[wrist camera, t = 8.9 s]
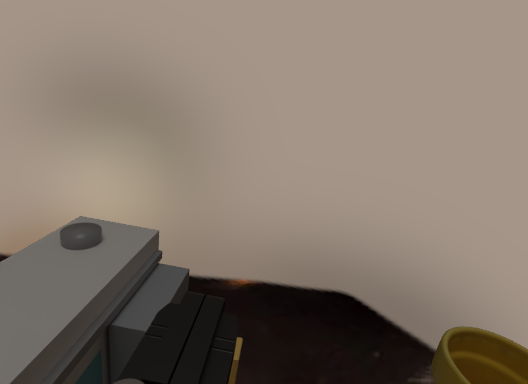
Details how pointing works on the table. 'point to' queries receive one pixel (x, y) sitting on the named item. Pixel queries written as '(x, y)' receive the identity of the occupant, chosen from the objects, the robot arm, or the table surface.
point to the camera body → (69, 300)
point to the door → (150, 315)
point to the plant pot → (479, 358)
